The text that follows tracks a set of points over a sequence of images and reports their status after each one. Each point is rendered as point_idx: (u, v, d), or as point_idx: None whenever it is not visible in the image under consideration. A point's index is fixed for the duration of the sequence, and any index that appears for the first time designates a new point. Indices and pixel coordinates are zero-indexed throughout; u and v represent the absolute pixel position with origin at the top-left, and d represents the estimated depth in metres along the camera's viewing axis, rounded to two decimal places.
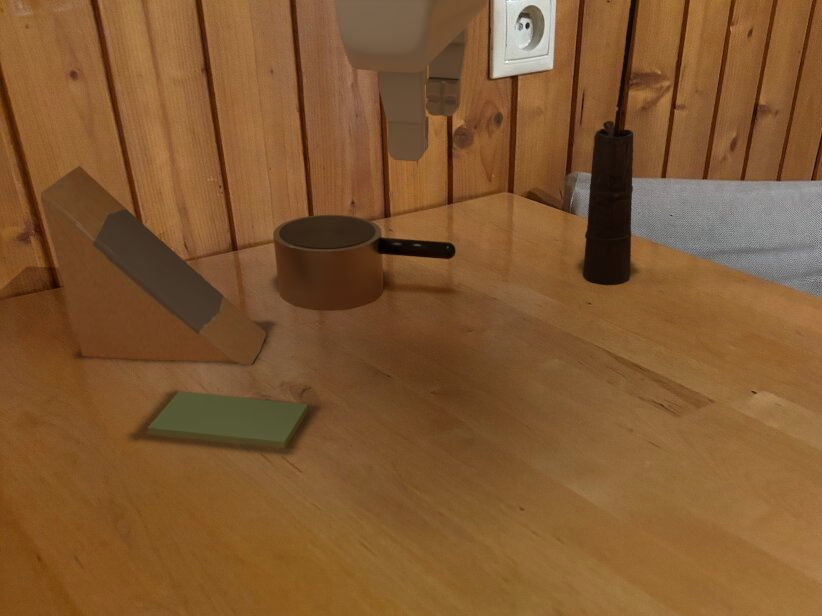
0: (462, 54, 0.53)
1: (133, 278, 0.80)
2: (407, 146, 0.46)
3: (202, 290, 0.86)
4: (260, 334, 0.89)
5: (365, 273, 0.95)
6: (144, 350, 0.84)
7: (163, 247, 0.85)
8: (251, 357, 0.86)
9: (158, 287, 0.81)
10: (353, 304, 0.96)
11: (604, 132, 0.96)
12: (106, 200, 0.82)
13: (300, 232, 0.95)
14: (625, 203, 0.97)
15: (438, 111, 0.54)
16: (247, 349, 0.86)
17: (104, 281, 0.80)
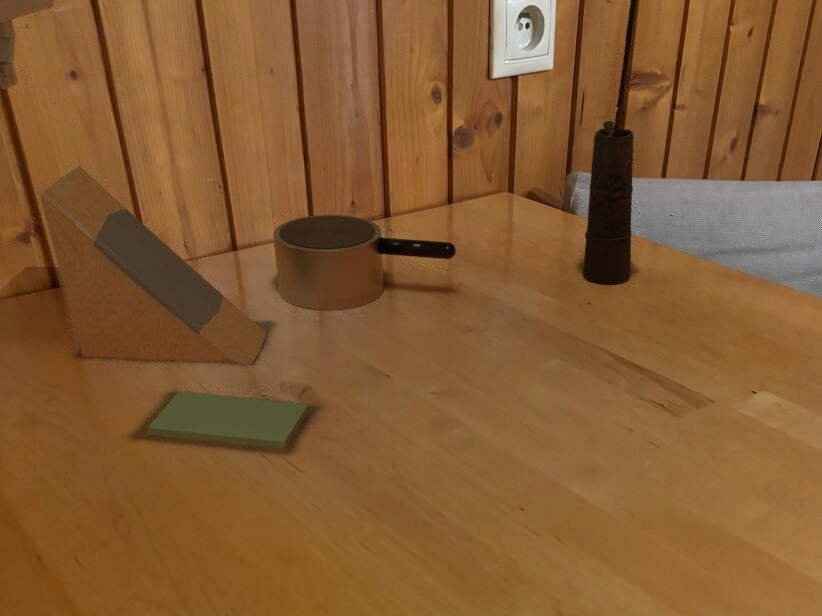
0: (9, 45, 0.76)
1: (133, 278, 0.80)
2: None
3: (202, 290, 0.86)
4: (260, 334, 0.89)
5: (365, 273, 0.95)
6: (144, 350, 0.84)
7: (163, 247, 0.85)
8: (251, 357, 0.86)
9: (158, 287, 0.81)
10: (353, 304, 0.96)
11: (604, 132, 0.96)
12: (106, 200, 0.82)
13: (300, 232, 0.95)
14: (625, 203, 0.97)
15: None
16: (247, 349, 0.86)
17: (104, 281, 0.80)
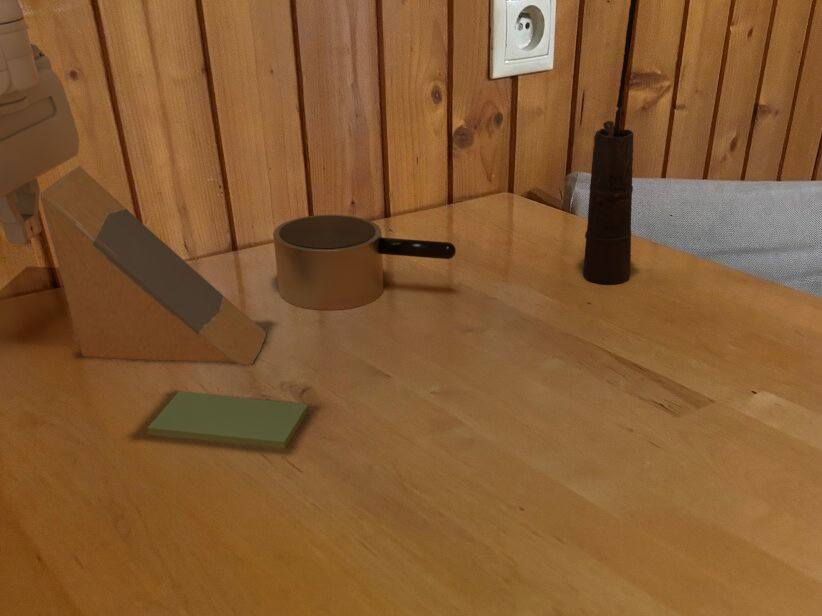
0: (34, 199, 0.83)
1: (133, 278, 0.80)
2: (15, 235, 0.82)
3: (202, 290, 0.86)
4: (260, 334, 0.89)
5: (365, 273, 0.95)
6: (144, 350, 0.84)
7: (163, 247, 0.85)
8: (251, 357, 0.86)
9: (158, 287, 0.81)
10: (353, 304, 0.96)
11: (604, 132, 0.96)
12: (106, 200, 0.82)
13: (300, 232, 0.95)
14: (625, 203, 0.97)
15: None
16: (247, 349, 0.86)
17: (104, 281, 0.80)
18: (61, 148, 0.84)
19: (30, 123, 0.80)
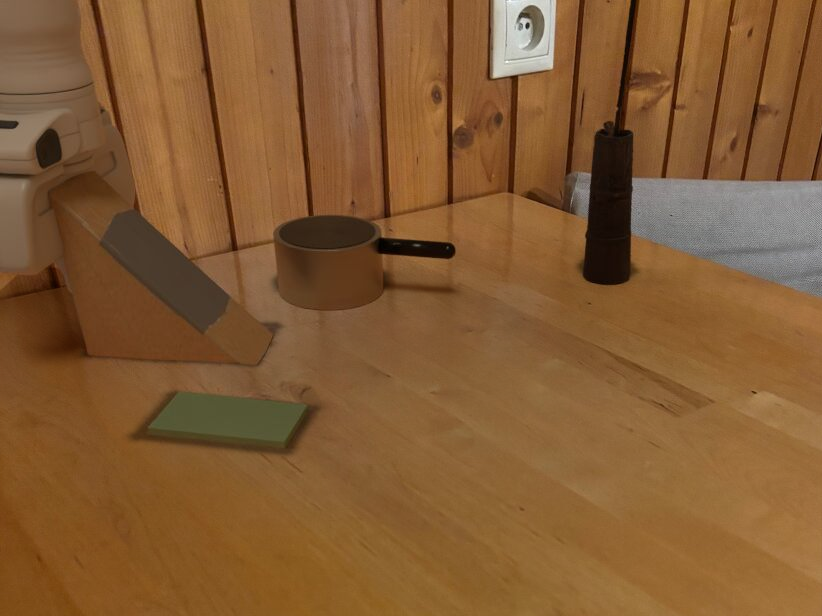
0: None
1: (138, 278, 0.80)
2: None
3: (209, 291, 0.86)
4: (266, 335, 0.89)
5: (365, 273, 0.95)
6: (149, 350, 0.84)
7: (170, 247, 0.85)
8: (256, 358, 0.86)
9: (164, 287, 0.81)
10: (353, 304, 0.96)
11: (604, 132, 0.96)
12: (114, 200, 0.82)
13: (300, 232, 0.95)
14: (625, 203, 0.97)
15: None
16: (252, 350, 0.86)
17: (110, 281, 0.80)
18: None
19: None
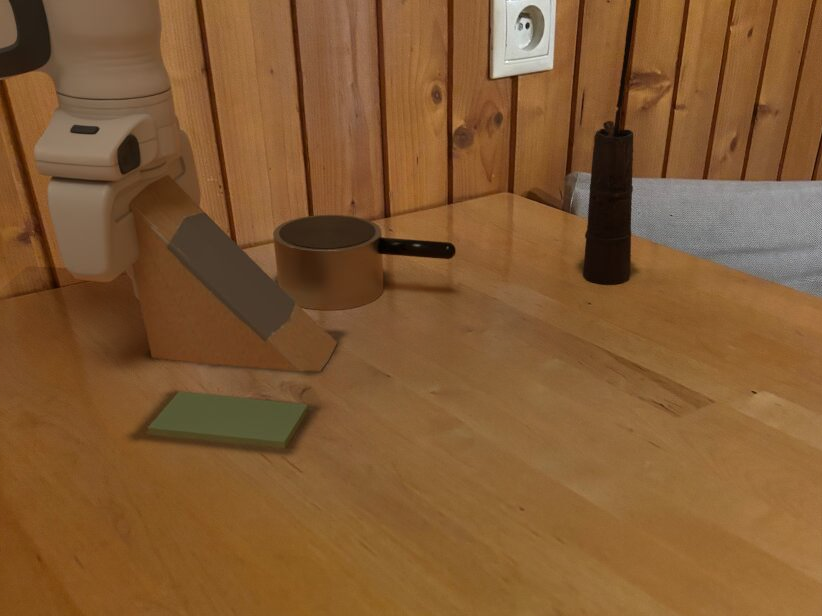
0: None
1: (204, 282, 0.79)
2: None
3: (274, 297, 0.85)
4: (330, 343, 0.88)
5: (365, 273, 0.95)
6: (212, 355, 0.83)
7: (239, 252, 0.84)
8: (318, 367, 0.84)
9: (229, 292, 0.80)
10: (353, 304, 0.96)
11: (604, 132, 0.96)
12: (185, 203, 0.81)
13: (300, 232, 0.95)
14: (625, 203, 0.97)
15: None
16: (314, 359, 0.85)
17: (176, 285, 0.80)
18: None
19: None
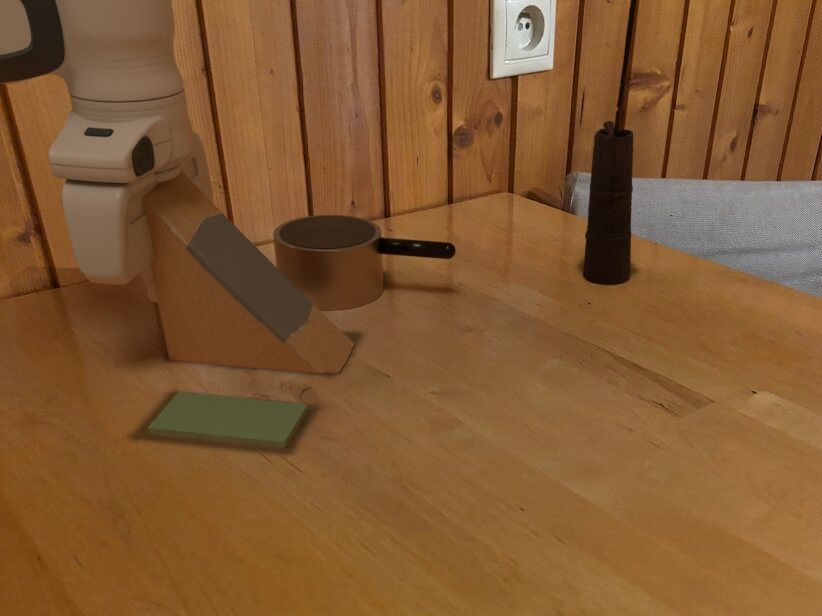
0: None
1: (223, 284, 0.79)
2: None
3: (292, 299, 0.84)
4: (347, 345, 0.88)
5: (365, 273, 0.95)
6: (230, 356, 0.83)
7: (256, 253, 0.84)
8: (336, 369, 0.84)
9: (248, 294, 0.80)
10: (353, 304, 0.96)
11: (604, 132, 0.96)
12: (203, 204, 0.81)
13: (300, 232, 0.95)
14: (625, 203, 0.97)
15: None
16: (333, 360, 0.84)
17: (194, 286, 0.79)
18: None
19: None
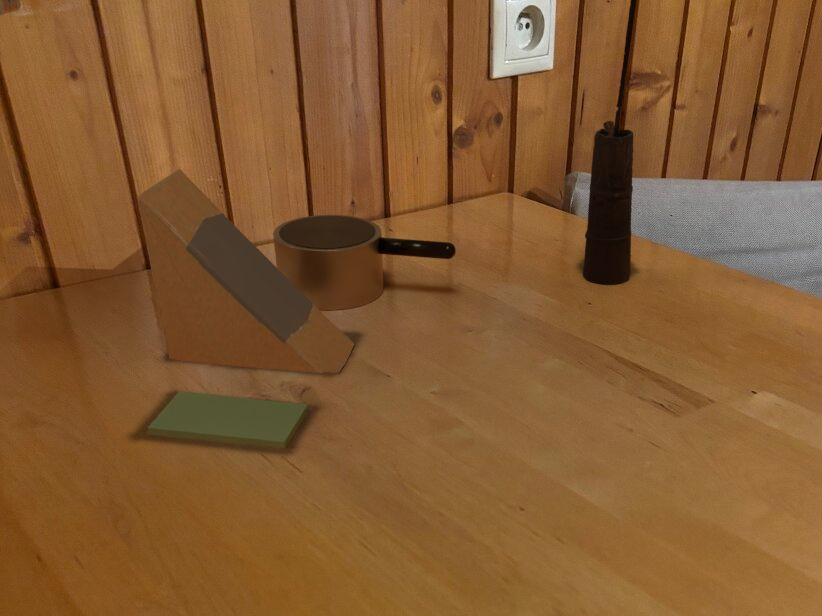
0: None
1: (223, 284, 0.79)
2: None
3: (292, 299, 0.84)
4: (347, 345, 0.88)
5: (365, 273, 0.95)
6: (230, 356, 0.83)
7: (256, 253, 0.84)
8: (336, 369, 0.84)
9: (248, 294, 0.80)
10: (353, 304, 0.96)
11: (604, 132, 0.96)
12: (203, 204, 0.81)
13: (300, 232, 0.95)
14: (625, 203, 0.97)
15: None
16: (333, 360, 0.84)
17: (194, 286, 0.79)
18: None
19: None
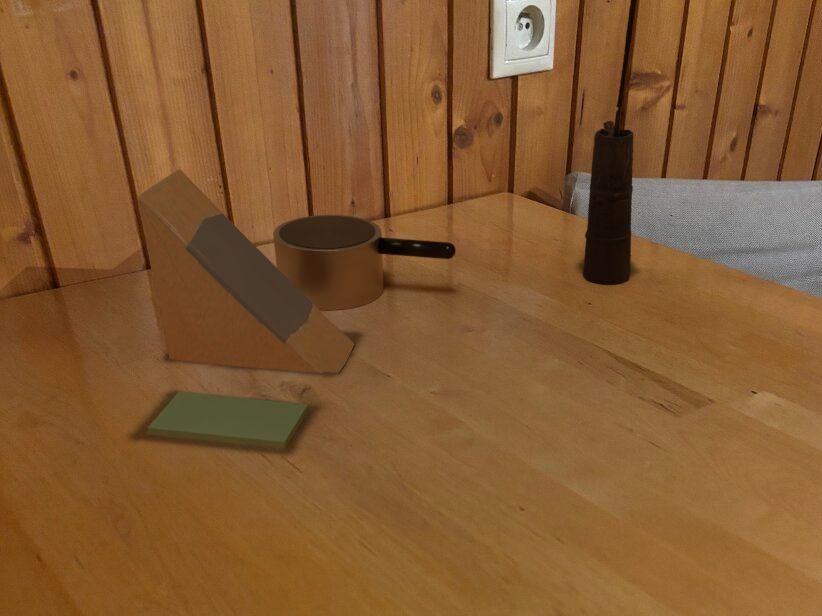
0: None
1: (223, 284, 0.79)
2: None
3: (292, 299, 0.84)
4: (347, 345, 0.88)
5: (365, 273, 0.95)
6: (230, 356, 0.83)
7: (257, 253, 0.84)
8: (336, 369, 0.84)
9: (248, 294, 0.80)
10: (353, 304, 0.96)
11: (604, 132, 0.96)
12: (203, 204, 0.81)
13: (300, 232, 0.95)
14: (625, 203, 0.97)
15: None
16: (333, 360, 0.84)
17: (194, 286, 0.79)
18: None
19: None
